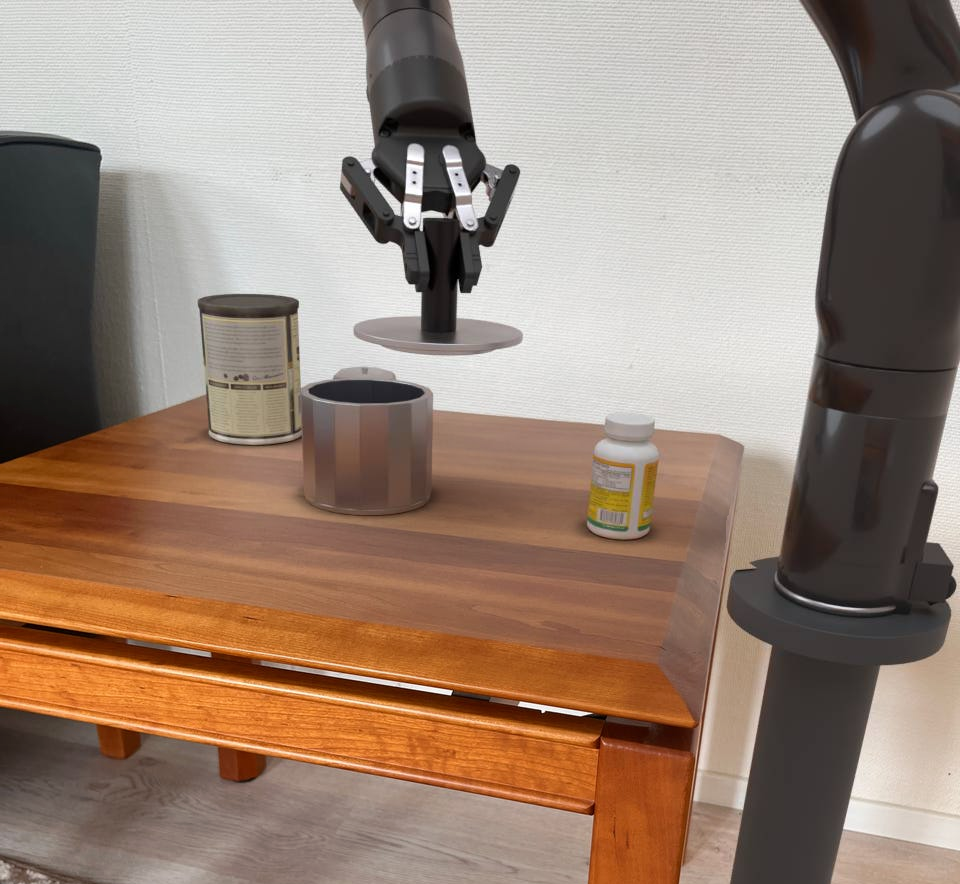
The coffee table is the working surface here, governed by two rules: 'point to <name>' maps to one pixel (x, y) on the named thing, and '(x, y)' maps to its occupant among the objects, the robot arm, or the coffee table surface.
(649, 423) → the supplement bottle
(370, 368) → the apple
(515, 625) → the coffee table surface
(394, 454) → the canister
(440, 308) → the canister lid
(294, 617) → the coffee table surface
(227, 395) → the coffee can
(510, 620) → the coffee table surface
